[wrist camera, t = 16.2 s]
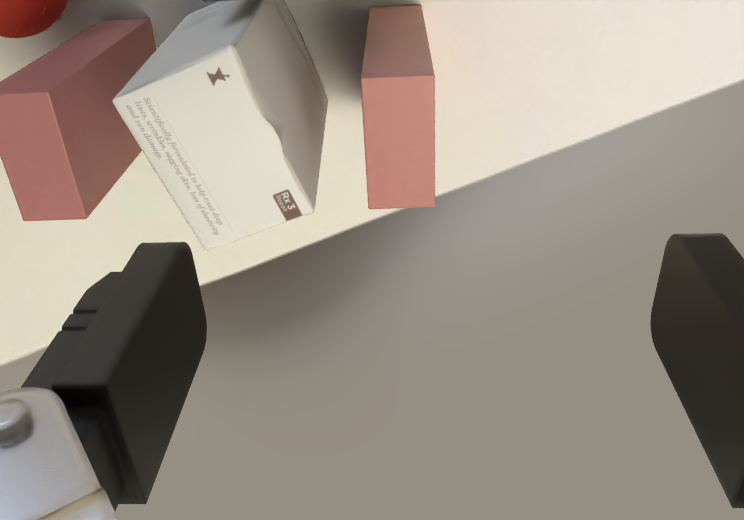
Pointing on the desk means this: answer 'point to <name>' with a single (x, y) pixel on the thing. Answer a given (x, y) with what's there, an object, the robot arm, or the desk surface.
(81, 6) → the desk surface
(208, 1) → the grey book
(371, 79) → the rose book
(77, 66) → the rose book
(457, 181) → the desk surface
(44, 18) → the kendama
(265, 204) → the cosmetic box
